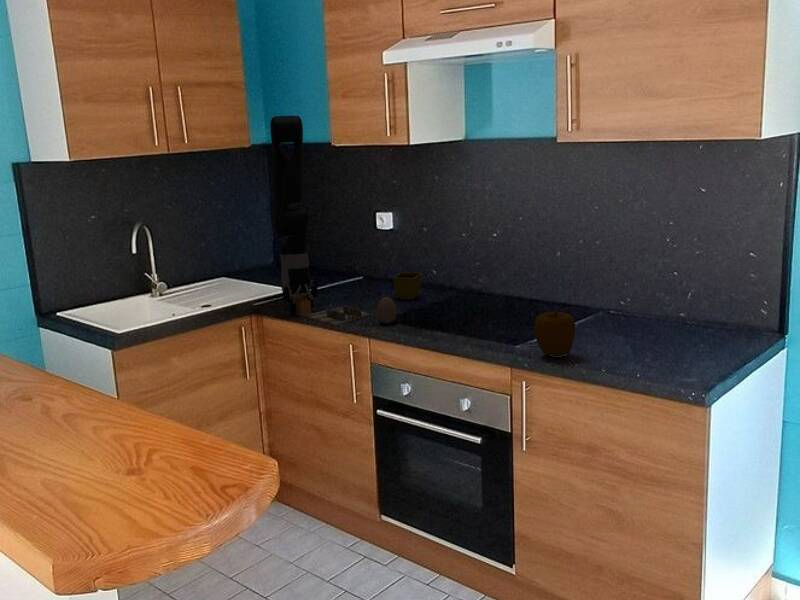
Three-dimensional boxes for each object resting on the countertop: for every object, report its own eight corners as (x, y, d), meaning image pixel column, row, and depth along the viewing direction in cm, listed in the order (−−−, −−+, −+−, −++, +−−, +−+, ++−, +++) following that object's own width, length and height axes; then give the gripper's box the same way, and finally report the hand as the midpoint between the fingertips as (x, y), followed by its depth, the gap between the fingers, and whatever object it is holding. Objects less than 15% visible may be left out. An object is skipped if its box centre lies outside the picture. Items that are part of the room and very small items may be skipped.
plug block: (292, 313, 289) (291, 298, 288) (302, 311, 292) (301, 296, 290) (302, 316, 285) (300, 301, 283) (311, 314, 287) (310, 299, 286)
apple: (531, 360, 222) (530, 315, 219) (540, 349, 231) (540, 305, 229) (571, 363, 217) (570, 317, 215) (579, 352, 227) (579, 307, 224)
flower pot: (416, 301, 297) (414, 277, 295) (393, 301, 300) (392, 277, 298) (423, 296, 305) (421, 272, 303) (401, 295, 308) (399, 272, 306)
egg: (373, 324, 268) (371, 298, 266) (385, 320, 273) (384, 293, 271) (389, 327, 264) (387, 300, 262) (401, 322, 269) (399, 295, 267)
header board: (305, 316, 283) (304, 304, 282) (342, 308, 293) (341, 295, 292) (335, 325, 269) (334, 312, 268) (373, 316, 279) (372, 303, 278)
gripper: (309, 261, 291) (312, 306, 295) (275, 267, 282) (279, 313, 286) (321, 263, 286) (324, 309, 289) (286, 270, 277) (290, 317, 281)
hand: (302, 311), depth 288 cm, fingers open, 6 cm apart
